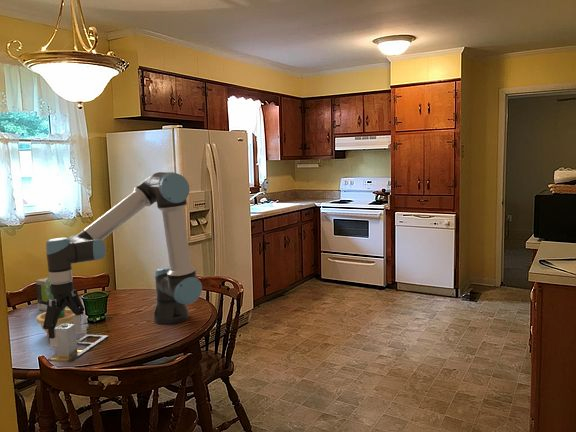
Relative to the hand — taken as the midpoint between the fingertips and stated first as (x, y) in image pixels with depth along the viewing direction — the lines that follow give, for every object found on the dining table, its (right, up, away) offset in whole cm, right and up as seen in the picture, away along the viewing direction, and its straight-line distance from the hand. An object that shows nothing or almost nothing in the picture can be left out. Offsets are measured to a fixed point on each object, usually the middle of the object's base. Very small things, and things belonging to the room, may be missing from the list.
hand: (66, 339), depth 176 cm
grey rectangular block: (0, -6, +1) cm, 6 cm away
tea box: (-31, 0, +56) cm, 64 cm away
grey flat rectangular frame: (+1, -5, +8) cm, 10 cm away
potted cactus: (-14, -4, +24) cm, 28 cm away
